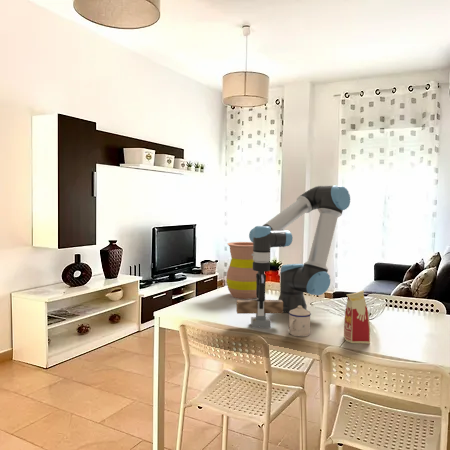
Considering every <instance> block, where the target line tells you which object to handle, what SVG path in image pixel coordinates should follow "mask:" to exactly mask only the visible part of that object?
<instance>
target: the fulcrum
mask: <svg viewBox="0 0 450 450" xmlns="http://www.w3.org/2000/svg"><path fill="white" fill-rule="evenodd" d="M266 314H267V313H264V316H257V314H255V316H251V317H250V326H251V329H255V328H258V329H260V328H263V329H266V328H267V329H270V328H271V326H272V325H271V319H270V317H269V316H266Z"/></svg>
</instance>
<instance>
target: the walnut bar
mask: <svg viewBox="0 0 450 450" xmlns="http://www.w3.org/2000/svg"><path fill="white" fill-rule="evenodd" d="M264 313H266V314H284V312H283V301H282V300H278V299H265V301H264ZM236 314H240V315H241V314H243V315H244V314H248V315H249V314H254V315H256V314H258V301H257V299H236Z"/></svg>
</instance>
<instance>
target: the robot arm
mask: <svg viewBox="0 0 450 450" xmlns="http://www.w3.org/2000/svg"><path fill="white" fill-rule="evenodd" d="M350 203H351V195H350V193H349V190H348V189H347V188H346V187H345V186H343V185H336V184H334V185H318V186H314V187H312V188H310V189H308V190H307V191H305V192H303V193H302V194H300V195H299V196H298V197H297V198H296V201H294V202H293V203H291V204H290V205H289V206H287V207H286V208H284V209H283V210H282V211H280V212H279V213H278V214H277V215H275V216H273V218H271V219H270V220H268V221H267V222H266V223H264V224H263V225H257V226H255V227H253V228H251V230H250V231H249V235H248V238H249V240H250V242H253V253H254V254H252V256H253V260H254V262H253V270H254V271H258V273H257V274H256V278H257V279H256V283H257V286H256V295H257V296H256V297H257V298H256V300H257V301H258V314H257V316H264V301H265V300H266V281H267V275H266V272H269V271H270V270H271V263H270V261H271V248H285V247H290V246H291V244H292V242H293V234H292V232H291V231H290V230H287V229H286V228H287V227H289V226H290V225H291V224H293V223H294V222H295V221H297V220H298V219H299V218H301V217H302V216H303V215H305V214H309V213H311V212H312V211H314V210H315V211H316V210H317V211H318V212H319V216H318V220H317V224H316V228H315V232H314V237H313V240H312V243H311V244H312V245H311V246H310V247H311V248H310V252H309V256H308V260H307V261H305V262H304V263H290V264H288V263H287V264H283V265H282V266H281V267H280V273H279V277H280V282H279V284H280V285H279V287H280V289H279V291H280V293H279V295H278V296H279V297H278V299H277V300H282V301H283V313H288V314H289V311H290V310H293V309H295V308H298V306H299V305H300V306H302V308H304V309H305V310H308V309H307V308H308V305H307V302H306V299H305V295H304V293H306V294H308V295H311V296H313V295H314V296H321V295H324V293H326V292H327V291H328V290H329V288H330V286H331V278H330V277H331V276H330V274H329V273H328V271H329V268H328V267H327V262H328V257H329V254H330V249H331V246H332V242H333V238H334V233H335V229H336V225H337V223H338V218H339V217H341V216H342V215H343V211H345V210H347V209H348V208H349V207H350V205H351V204H350Z"/></svg>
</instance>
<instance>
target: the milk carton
mask: <svg viewBox="0 0 450 450" xmlns="http://www.w3.org/2000/svg"><path fill="white" fill-rule="evenodd" d="M364 293H365V291H364V290H363V289H362V290H361V291H357V292H354V293H348V294H346V296H347V300H346V306H345V312H344V313H345V314H344V324H343V337H344V340H345V341H346V342H349V343H350V344H367V345H368V344H371V325H370V316H369V311H368V306H367V302H366V299H365V294H364Z"/></svg>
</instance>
